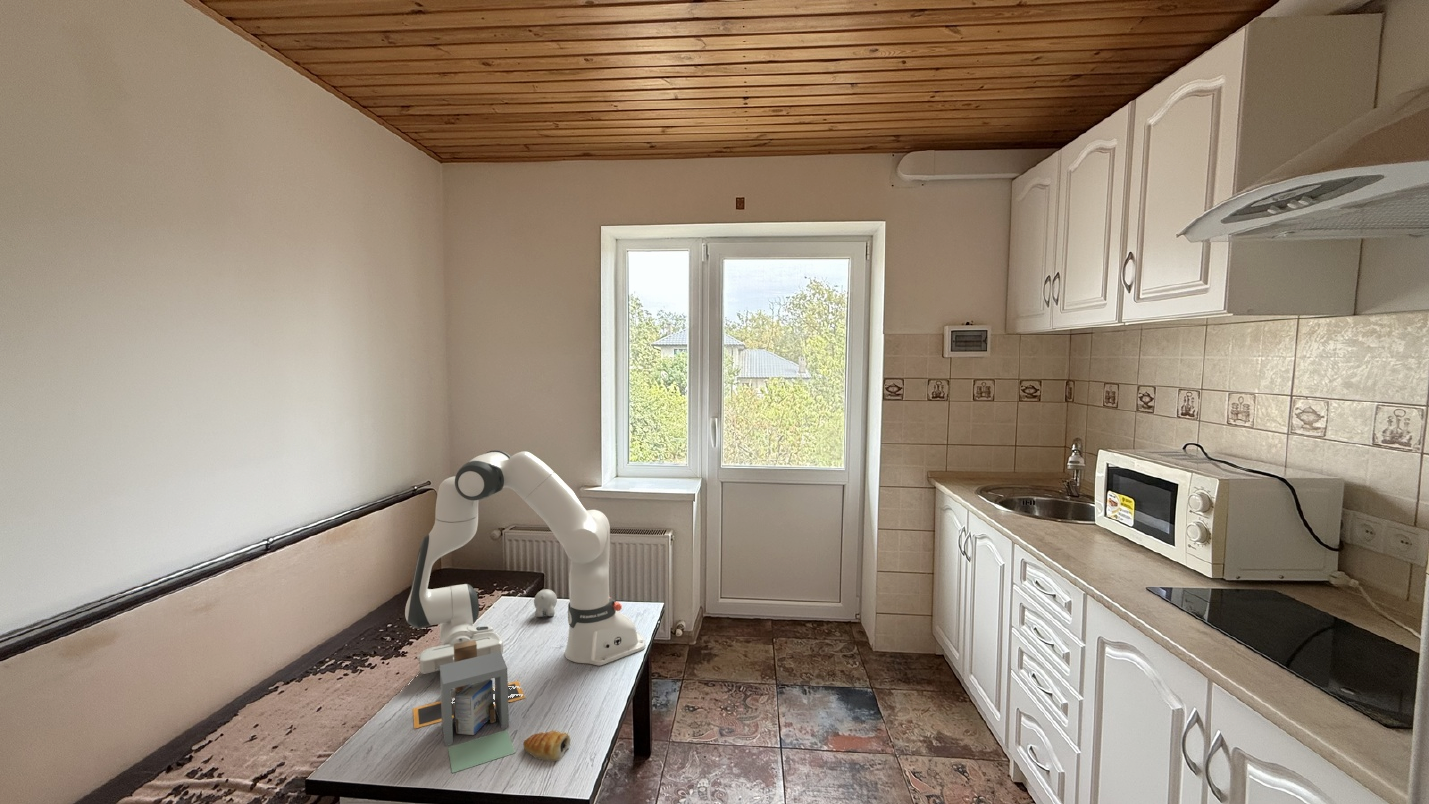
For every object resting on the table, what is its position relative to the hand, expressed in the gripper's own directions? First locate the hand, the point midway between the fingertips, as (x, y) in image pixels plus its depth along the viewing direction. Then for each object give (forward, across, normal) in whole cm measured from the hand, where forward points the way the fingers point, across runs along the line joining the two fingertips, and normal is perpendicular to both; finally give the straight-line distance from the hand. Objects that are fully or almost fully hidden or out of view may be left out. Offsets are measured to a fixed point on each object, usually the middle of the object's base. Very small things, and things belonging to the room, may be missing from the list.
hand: (465, 666), depth 146 cm
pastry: (+36, +12, +6) cm, 39 cm away
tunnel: (+19, 0, +5) cm, 20 cm away
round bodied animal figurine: (-34, +28, +5) cm, 44 cm away
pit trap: (+9, 0, +5) cm, 10 cm away
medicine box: (+19, 0, +5) cm, 20 cm away
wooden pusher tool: (+11, 0, +4) cm, 12 cm away
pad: (+29, 0, +5) cm, 30 cm away
